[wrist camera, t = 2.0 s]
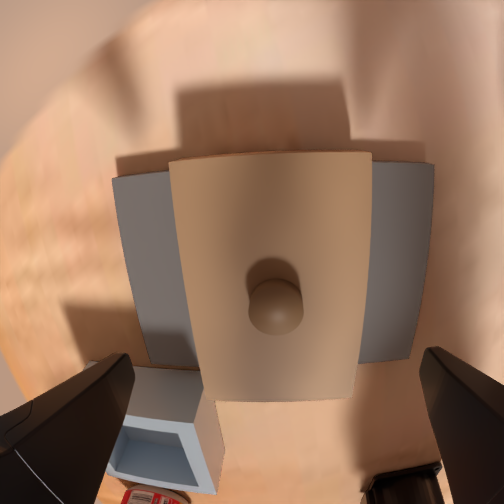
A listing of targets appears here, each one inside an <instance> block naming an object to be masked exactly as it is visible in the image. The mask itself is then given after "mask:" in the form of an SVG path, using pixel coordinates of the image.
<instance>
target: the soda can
mask: <svg viewBox="0 0 504 504" xmlns="http://www.w3.org/2000/svg"><path fill="white" fill-rule="evenodd" d="M121 504H189V503H188V502H187V501H186V499H184V498H183V497H182V496H180V495H178V494H176V493H174V492H172V491H170V490H167V489H164V488H161V487H157V486H152V485H145V484H142V485H136V486H133V487H131V488H129V489H127V490H126V492H125V494H124V496H123V499H122V502H121Z"/></svg>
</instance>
